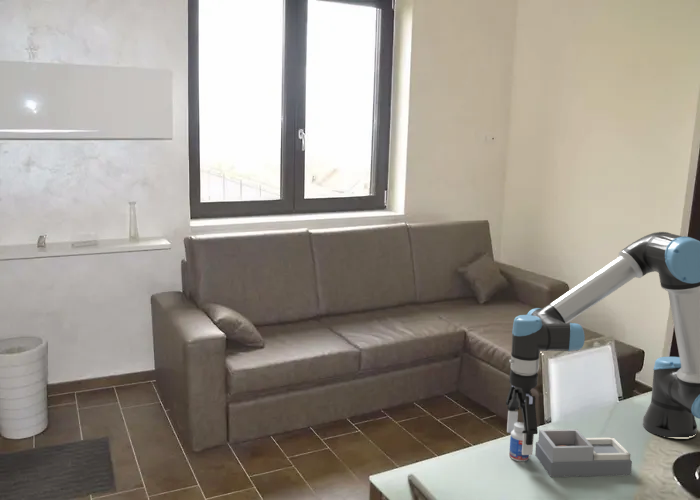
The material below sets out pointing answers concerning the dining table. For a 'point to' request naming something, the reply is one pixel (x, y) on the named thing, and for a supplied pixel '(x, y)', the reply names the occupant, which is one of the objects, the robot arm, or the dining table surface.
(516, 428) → the pill bottle
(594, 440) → the grey compartment organizer
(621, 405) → the dining table surface
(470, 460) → the dining table surface
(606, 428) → the dining table surface
